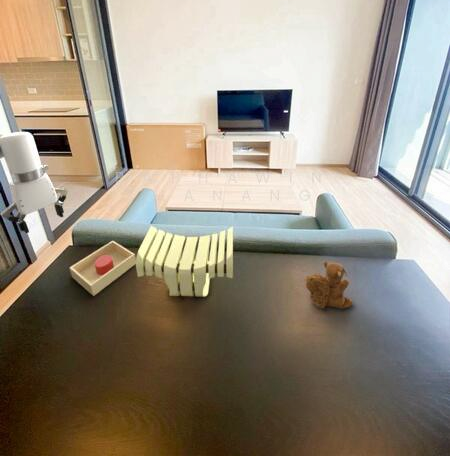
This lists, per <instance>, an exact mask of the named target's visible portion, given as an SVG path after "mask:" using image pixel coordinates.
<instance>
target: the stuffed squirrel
mask: <svg viewBox="0 0 450 456" xmlns="http://www.w3.org/2000/svg"><path fill="white" fill-rule="evenodd" d="M322 263H323V266H324V268H325V276H323V275H322V274H320V273H315V274H314V275H313V274H311V275H306V278H305V279H304V281H305V287H306V289H307V290H308V291H309V293H310V294H309V296H310V299H311V301H312V302H313V304H314V305H315V306H316V307H317V308H318V309H325V307H332V308H335V309H341V310H342V309H346V308H349V307H351V306H352V305H353V300H352V299H351V298H350V297H347V296H344V292H345V290H346V289H348V286H349V285H350V282H349V279H347V278H343V277H344V275H345V276H346V277H349V275H348V273H347V271H346V270H345V268H344V266H343V265H342V264H341V263H339V262H328V261H327V260H324V261H323V262H322Z"/></svg>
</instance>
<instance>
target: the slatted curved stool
mask: <svg viewBox="0 0 450 456" xmlns="http://www.w3.org/2000/svg"><path fill="white" fill-rule="evenodd" d="M218 235H219V239H218ZM226 235H227V236H226ZM198 238H199V240H198ZM185 240H186V241H185ZM225 245H226V247H225ZM217 248H218V249H217ZM225 249H226V261H225ZM217 251H218V252H217ZM233 253H234V227H233V226H231V227H229V228H227V233H226V229H224V230H222V231H220V232H219V233H218V232H216V233H212V235H211V234H207V235H200V236H199V237H198V236H187V237H186V236H185V235H179V234H174V236H173V233H171V232H166V233H165V231H164V230H162V229H157V227H155V226H152V225H150V227H149V229H148V231H147V233H146V235H145V237H144V239H143V241H142V243H141V244H140V246H139V249H138V251H137V253H136V256H135V258H136V264H135V269H136V273H137V274H136V275H137V277H138V278H140V277H145V275H146V277H149V276H150V277H153V276H155V277H156V278H159V279H162V278H163V279H164V283H165V285H166V286H167V289H168V290H169V296H170V297H180V296H181V297H194V296H195V297H207V296H208V294H209V290H210V289H209V288H210V280H211V279H214V278H215V277H216V274H217V277H218V278H224V277H225V274H226V278H229V279H234V272H233V271H234V266H233V265H234V261H233V260H234V255H233ZM225 262H226V263H225Z"/></svg>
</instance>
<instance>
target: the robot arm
mask: <svg viewBox="0 0 450 456" xmlns="http://www.w3.org/2000/svg"><path fill="white" fill-rule="evenodd" d="M3 158H4V160H5V164H6V166H7V169H8V172H9V175H10V177H11V180H12V181H10V182H9V191H10V196H11V201H12V203H11V204H10V205H8V206H7V207H5V209H4V210H2V211H1V212H0V216H1V217H2V218H4V219H6V220H8V221H9V222H13V223H16V224H17V225H18V228H19V231H20V232H24V233H25V234H29V233H30V230H29V227H28V224H27V222H26V220H25V218H26V217H27V215H29V214H33V213H34V212H37V211H39V210H42V209H44V208H47V207H49V206H51V205H54V206H53V207H54V209H55V212H56V215H57V216H58V217H59V218H64V214H65V211H64V207H63V205H64V203H65V200H66V199H67V195H68V192H69V190H68V189H67V188H59V187H57V188H56V187H54V185H53V183H52V181H51V179H50V176H49V175H48V173H46V171H47V170H49V166H48V165H47V164H46V165H45V164H44V165H42V161H41V158H40V155H39V152H38V149H37V144H36V142H35V138H34V136H33V134H32V133H30V132H28V131H17V132H16V131H15V132H10V133H0V160H1V159H3ZM58 194H60V196H59V197H58ZM13 211H15V212H17V213H16V215H11V213H12V212H13Z"/></svg>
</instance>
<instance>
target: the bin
mask: <svg viewBox="0 0 450 456" xmlns="http://www.w3.org/2000/svg"><path fill="white" fill-rule="evenodd" d="M103 255H110V256H111V257H112V260H113V265H114V268H113V269H111V270H110V271H109V272H107V273H106V274H104V275H98V274H97V272H96V268H95V264H94V263H95V261H96V259H98V258H99V257H101V256H103ZM134 266H136V254H135V253H134V252H132V251H130V250H129V249H128V248H126V247H124V246H123V245H121V244H119V243H117V242H116V241H115V240H111V241H110V242H108V243H107V244H104V245H103V246H101V247H100V248H99V249H97V250H95V251H94V252H92V253H91V254H89V255H87V256H85V257H84V258H82V259H81V260H79V261H78V262H76V263H74V264H73V265H71V266H69V271H70V274H71V278H72V279H73V280H75V281H76V282H77V283H78V284H79V285H80V286H81V287H83V288H84V289H85V290H86V291H87V292H88V293H89V294H90V295H92V297H95V296H96V295H97V294H99V293H100V292H101V291H102V290H104V289H105V288H106V287H108V286H109V285H110V284H112V283H113V282H114V281H115V280H117V279H118V278H119V277H121V276H122V275H123V274H124V273H126V272H127V271H129V269H132V267H134Z"/></svg>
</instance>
